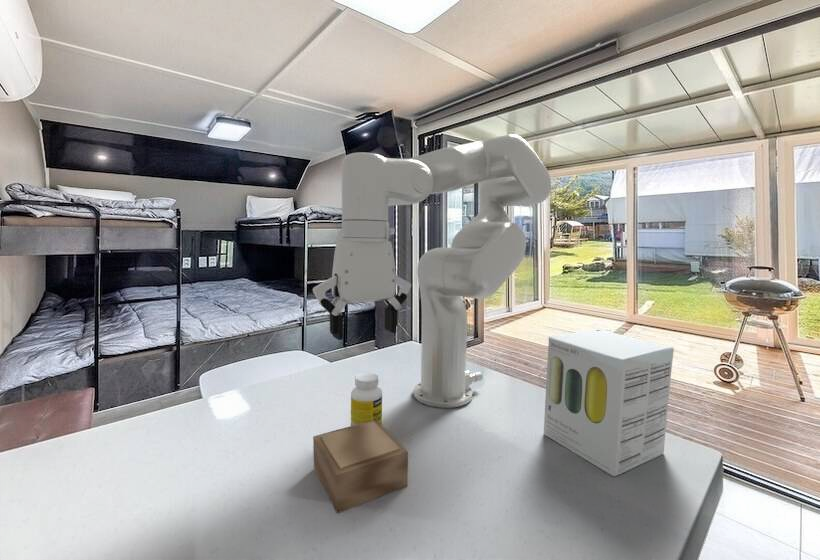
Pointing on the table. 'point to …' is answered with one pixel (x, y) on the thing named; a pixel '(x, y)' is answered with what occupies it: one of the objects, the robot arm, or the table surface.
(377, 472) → the brown square tray
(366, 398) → the supplement bottle
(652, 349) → the supplement box
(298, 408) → the table surface
